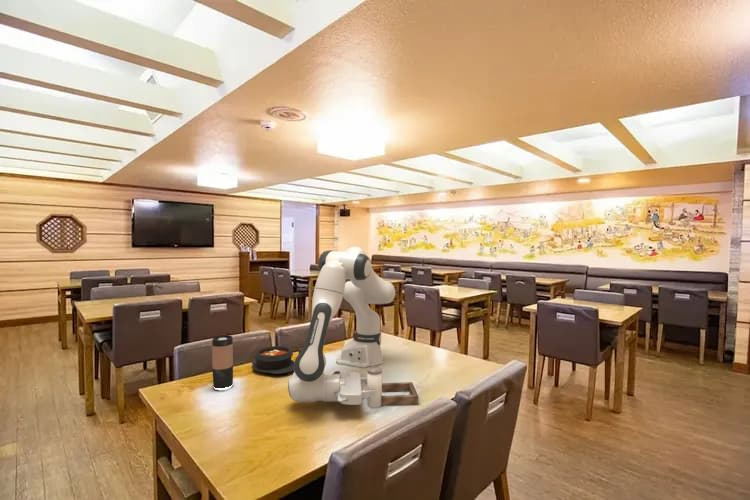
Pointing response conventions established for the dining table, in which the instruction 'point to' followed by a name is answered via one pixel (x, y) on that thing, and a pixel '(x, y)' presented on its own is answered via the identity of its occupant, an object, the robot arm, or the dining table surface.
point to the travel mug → (222, 361)
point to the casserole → (274, 360)
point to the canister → (374, 386)
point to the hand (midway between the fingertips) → (374, 386)
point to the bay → (399, 399)
